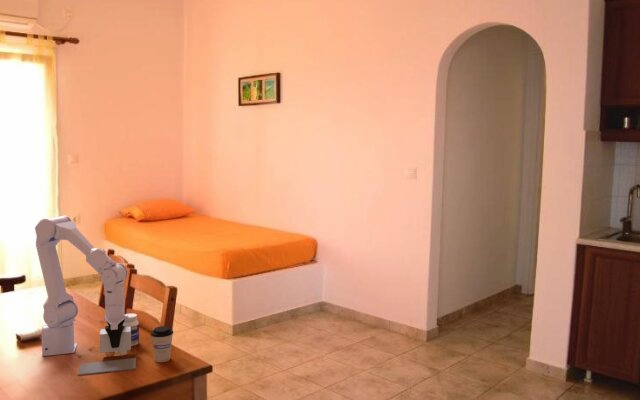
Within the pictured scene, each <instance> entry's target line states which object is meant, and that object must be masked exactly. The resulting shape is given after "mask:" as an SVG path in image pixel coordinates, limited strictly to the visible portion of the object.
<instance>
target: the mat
mask: <svg viewBox="0 0 640 400" xmlns="http://www.w3.org/2000/svg"><path fill="white" fill-rule="evenodd" d="M136 362H137V358H136V357H133V358H124V359H115V360H114V359H113V360H104V361H95V362H86V363H80V366H79V370H78V372H77V376H78V377H79V376H80V377H81V376H87V375H96V374H97V375H98V374H104V373H105V372H106V373H113V372H115V373H116V372H123V371H131V370H132V371H133V370H136V369H137V363H136Z"/></svg>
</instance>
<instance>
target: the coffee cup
mask: <svg viewBox="0 0 640 400" xmlns="http://www.w3.org/2000/svg"><path fill="white" fill-rule="evenodd" d="M173 335H174V330H173V329H171V328H170V327H169V326H165V325H161V326H157V327H155V328H154V329H153V330H152V331H150V336H151V343H152V349H153V357H154V362H156V363H165V362H168V361H170V359H171V352H172V342H173Z"/></svg>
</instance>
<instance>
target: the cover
mask: <svg viewBox="0 0 640 400" xmlns="http://www.w3.org/2000/svg"><path fill="white" fill-rule="evenodd" d="M99 348H100V349H99V350H100V351H99V352H100V354H102V353H103V354H105V352H115V353H116V352H118V351H126V350H127V351H131V349H132V346H131V327H124V329H123V331H122V334H121V338H120V345H119V347H118V348H112V347H111V343H110V339H109V336H108V334H107V332H106V330H105V328H101V329H100V331H99Z"/></svg>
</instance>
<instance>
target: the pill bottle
mask: <svg viewBox="0 0 640 400" xmlns="http://www.w3.org/2000/svg"><path fill="white" fill-rule="evenodd" d="M127 314H128V315H129V317H128V318H125V321H124V323H123V326H124V327H131V347H133V346H137V345H138V344H139V343H140V323H139V320H138V314H136V313H126V314H125V315H127Z"/></svg>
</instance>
